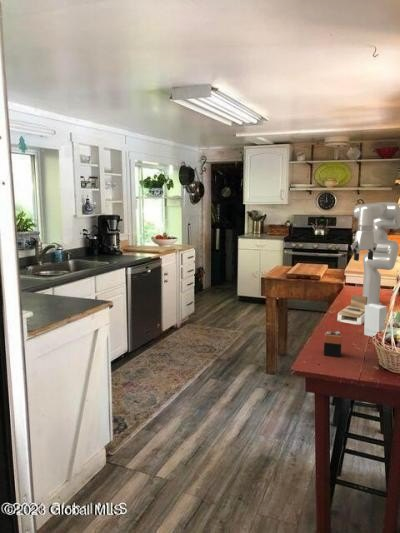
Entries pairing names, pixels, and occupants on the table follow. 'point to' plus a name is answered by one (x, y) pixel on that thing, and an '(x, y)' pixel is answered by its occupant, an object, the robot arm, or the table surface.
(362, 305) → the lid
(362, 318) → the box
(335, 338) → the battery
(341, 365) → the table surface
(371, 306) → the skincare box
